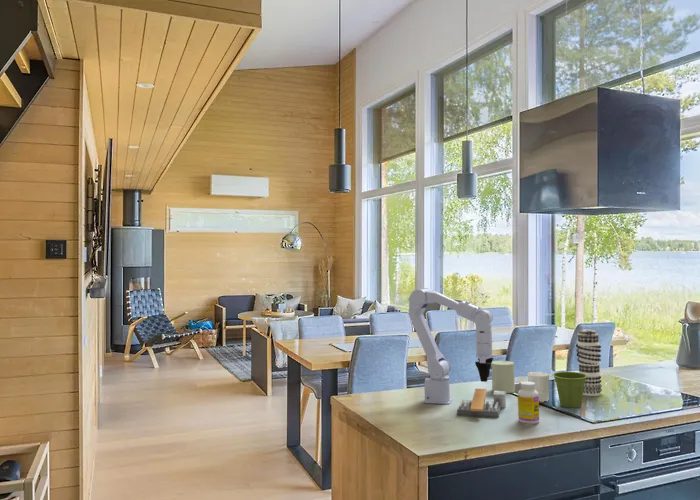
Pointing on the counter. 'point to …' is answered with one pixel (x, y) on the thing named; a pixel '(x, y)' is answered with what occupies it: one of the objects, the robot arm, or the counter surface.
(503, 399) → the block
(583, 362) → the decorative candle
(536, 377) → the white cup
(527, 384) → the supplement bottle
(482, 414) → the heatsink block
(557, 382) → the plant pot
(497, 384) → the can
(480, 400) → the orange rectangular bar
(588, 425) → the counter surface
